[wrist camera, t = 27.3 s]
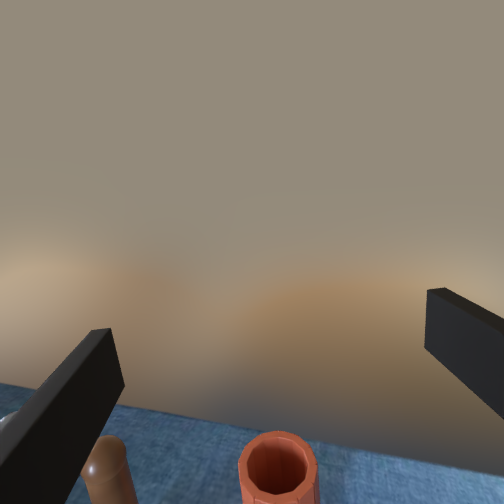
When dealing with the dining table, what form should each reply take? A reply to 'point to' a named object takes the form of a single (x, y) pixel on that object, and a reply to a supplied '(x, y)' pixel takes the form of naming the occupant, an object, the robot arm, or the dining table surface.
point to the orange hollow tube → (278, 470)
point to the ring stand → (109, 473)
